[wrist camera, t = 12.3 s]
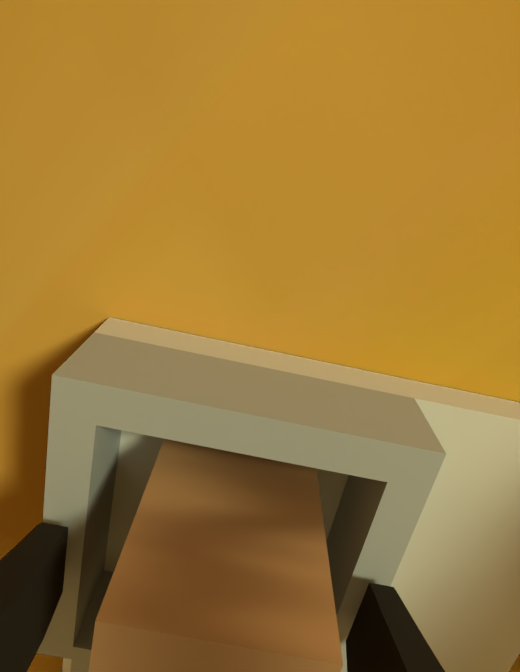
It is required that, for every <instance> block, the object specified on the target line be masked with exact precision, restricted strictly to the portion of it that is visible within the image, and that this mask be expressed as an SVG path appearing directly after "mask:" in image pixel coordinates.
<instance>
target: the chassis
mask: <svg viewBox="0 0 520 672" xmlns="http://www.w3.org/2000/svg"><path fill="white" fill-rule="evenodd" d="M164 439H169V440H174V441H179V442H184V443H189V444H194V445H199V446H204V447H210V448H215V449H220V450H225V451H230V452H235V453H240V454H245V455H250V456H256V457H261V458H266V459H271V460H276V461H281V462H286V463H291V464H296V465H302V466H307V467H312V468H316V471H317V479H318V486H319V493H320V500H321V508H322V515H323V522H324V530H325V537H326V544H327V551H328V559H329V566H330V573H331V580H332V588H333V595H334V602H335V610H336V617H337V624H338V631H339V639H340V646H341V653H342V660H343V667H342V669H341V671H340V672H347V657H346V639H347V637H348V634H349V632H350V629H351V627H352V624H353V622H354V619H355V617H356V614H357V612H358V609H359V607H360V604H361V602H362V599H363V597H364V594H365V592H366V589H367V587H368V584H369V583H375V584H380V585H385V586H391V587H394V588H395V590H396V591H397V593H398V595H399V596H400V598H401V600H402V601H403V603H404V605H405V606H406V608H407V610H408V611H409V613H410V615H411V616H412V618H413V620H414V621H415V623H416V625H417V626H418V628H419V630H420V631H421V633H422V635H423V636H424V638H425V640H426V641H427V643H428V645H429V646H430V648H431V650H432V651H433V653H434V654H435V656H436V658H437V659H438V661H439V663H440V664H441V666H442V667H443V669H444V670H445V672H509V671H510V669H511V668H512V666H513V664H514V663H515V661H516V659H517V657H518V656H519V654H520V402H515V401H510V400H505V399H500V398H496V397H491V396H486V395H481V394H476V393H472V392H467V391H462V390H457V389H452V388H447V387H443V386H438V385H433V384H428V383H423V382H419V381H414V380H409V379H404V378H399V377H395V376H390V375H385V374H380V373H375V372H371V371H366V370H361V369H356V368H351V367H347V366H342V365H337V364H332V363H327V362H322V361H318V360H313V359H308V358H303V357H298V356H294V355H289V354H284V353H279V352H274V351H270V350H265V349H260V348H255V347H250V346H246V345H241V344H236V343H231V342H226V341H222V340H217V339H212V338H207V337H202V336H198V335H193V334H188V333H183V332H178V331H173V330H169V329H164V328H159V327H154V326H149V325H145V324H140V323H135V322H130V321H125V320H121V319H116V318H111V317H109V318H108V319H107V320H106V321H105V322H104V323H103V324H102V325H101V326H100V327H99V328H98V329H97V330H96V331H95V332H94V333H93V334H92V335H91V336H90V337H89V338H88V339H87V340H86V341H85V342H84V343H83V344H82V345H81V346H80V347H79V348H78V349H77V350H76V351H75V352H74V353H73V354H72V355H71V356H70V357H69V358H68V359H67V360H66V361H65V362H64V363H63V364H62V365H61V366H60V367H59V368H58V369H57V370H56V371H55V372H54V373H53V374H52V381H51V397H50V413H49V429H48V445H47V461H46V477H45V493H44V509H43V523H48V524H54V525H59V526H64V527H68V538H67V549H66V561H65V572H64V584H63V592H62V595H61V597H60V600H59V602H58V605H57V607H56V610H55V612H54V615H53V617H52V620H51V622H50V625H49V627H48V629H47V632H46V634H45V637H44V639H43V641H42V643H41V645H40V647H39V649H38V651H37V654H42V655H48V656H54V657H60V658H63V666H62V672H89V664H90V657H91V649H92V642H93V634H94V627H95V620H96V618H97V615H98V612H99V610H100V607H101V605H102V602H103V599H104V597H105V594H106V591H107V589H108V586H109V583H110V581H111V578H112V575H113V573H114V570H115V568H116V565H117V562H118V560H119V557H120V554H121V552H122V549H123V546H124V544H125V541H126V539H127V536H128V533H129V531H130V528H131V525H132V523H133V520H134V517H135V515H136V512H137V509H138V507H139V504H140V502H141V499H142V496H143V494H144V491H145V488H146V486H147V483H148V480H149V478H150V475H151V472H152V470H153V467H154V465H155V462H156V459H157V457H158V454H159V451H160V449H161V446H162V443H163V441H164Z"/></svg>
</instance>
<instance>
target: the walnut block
mask: <svg viewBox="0 0 520 672" xmlns="http://www.w3.org/2000/svg"><path fill="white" fill-rule="evenodd" d="M342 667H343V660H342V653H341V646H340V639H339V631H338V624H337V617H336V610H335V602H334V595H333V588H332V580H331V573H330V566H329V559H328V551H327V544H326V537H325V530H324V522H323V515H322V508H321V500H320V493H319V486H318V479H317V471H316V468H312V467H307V466H302V465H296V464H291V463H286V462H281V461H276V460H271V459H266V458H261V457H256V456H250V455H245V454H240V453H235V452H230V451H225V450H220V449H215V448H210V447H204V446H199V445H194V444H189V443H184V442H179V441H174V440H169V439H164V441H163V443H162V446H161V449H160V451H159V454H158V457H157V459H156V462H155V465H154V467H153V470H152V472H151V475H150V478H149V480H148V483H147V486H146V488H145V491H144V494H143V496H142V499H141V502H140V504H139V507H138V509H137V512H136V515H135V517H134V520H133V523H132V525H131V528H130V531H129V533H128V536H127V539H126V541H125V544H124V546H123V549H122V552H121V554H120V557H119V560H118V562H117V565H116V568H115V570H114V573H113V575H112V578H111V581H110V583H109V586H108V589H107V591H106V594H105V597H104V599H103V602H102V605H101V607H100V610H99V612H98V615H97V618H96V620H95V627H94V634H93V642H92V649H91V657H90V664H89V672H340V671H341V669H342Z"/></svg>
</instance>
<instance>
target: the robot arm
mask: <svg viewBox="0 0 520 672" xmlns="http://www.w3.org/2000/svg"><path fill="white" fill-rule="evenodd" d="M67 538H68V527H64V526H59V525H54V524H48V523H43V522H42V523H40V524H39V525H37V526H36V527H35V528H34V529H33V530H32V531H31V532H30V533H29V534H28V535H27V536H26V537H25V538H23V539H22V540H21V541H20V542H19V543H18V544H17V545H16V546H15V547H14V548H13V549H12V550H11V551H10V552H9V553H8V554H6V555H5V556H4V557H3V558H2V559H1V560H0V672H27V670H28V668H29V666H30V664H31V662H32V660H33V658H34V656H35V655H36V653H37V651H38V649H39V647H40V645H41V643H42V641H43V639H44V637H45V634H46V632H47V629H48V627H49V625H50V622H51V620H52V617H53V615H54V612H55V610H56V607H57V605H58V602H59V600H60V597H61V595H62V592H63V584H64V572H65V561H66V549H67ZM346 657H347V672H445V670H444V669H443V667H442V666H441V664H440V663H439V661H438V659H437V658H436V656H435V654H434V653H433V651H432V650H431V648H430V646H429V645H428V643H427V641H426V640H425V638H424V636H423V635H422V633H421V631H420V630H419V628H418V626H417V625H416V623H415V621H414V620H413V618H412V616H411V615H410V613H409V611H408V610H407V608H406V606H405V605H404V603H403V601H402V600H401V598H400V596H399V595H398V593H397V591H396V590H395V588H394V587H391V586H385V585H380V584H375V583H369V584H368V587H367V589H366V592H365V594H364V597H363V599H362V602H361V604H360V607H359V609H358V612H357V614H356V617H355V619H354V622H353V624H352V627H351V629H350V632H349V634H348V637H347V639H346Z"/></svg>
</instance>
